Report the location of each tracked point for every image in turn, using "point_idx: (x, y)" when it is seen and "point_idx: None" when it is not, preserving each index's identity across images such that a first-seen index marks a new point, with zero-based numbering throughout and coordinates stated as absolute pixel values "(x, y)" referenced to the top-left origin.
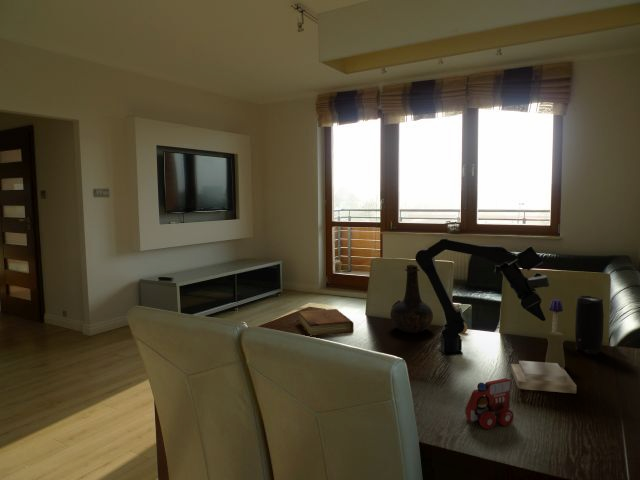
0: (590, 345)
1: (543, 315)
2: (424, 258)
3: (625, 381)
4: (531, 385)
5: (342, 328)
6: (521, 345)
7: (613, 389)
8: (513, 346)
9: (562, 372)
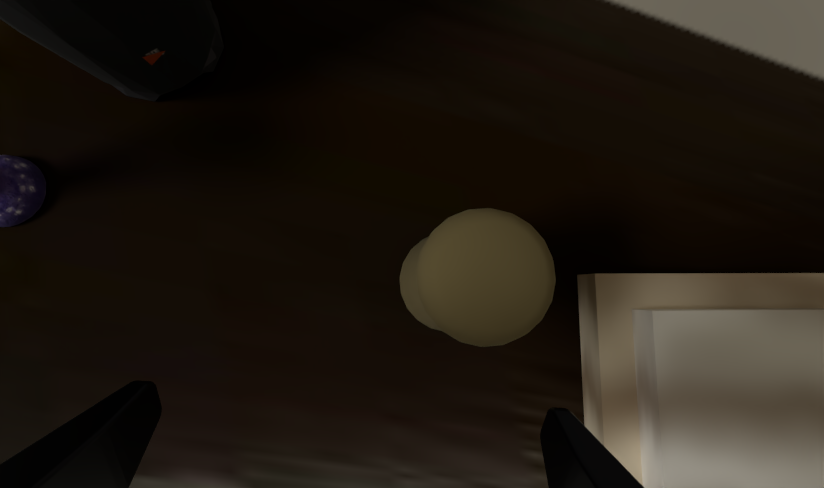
0: (205, 19)
1: (625, 474)
2: None
3: (597, 27)
4: None
5: None
6: None
7: (709, 108)
8: None
9: (801, 318)
